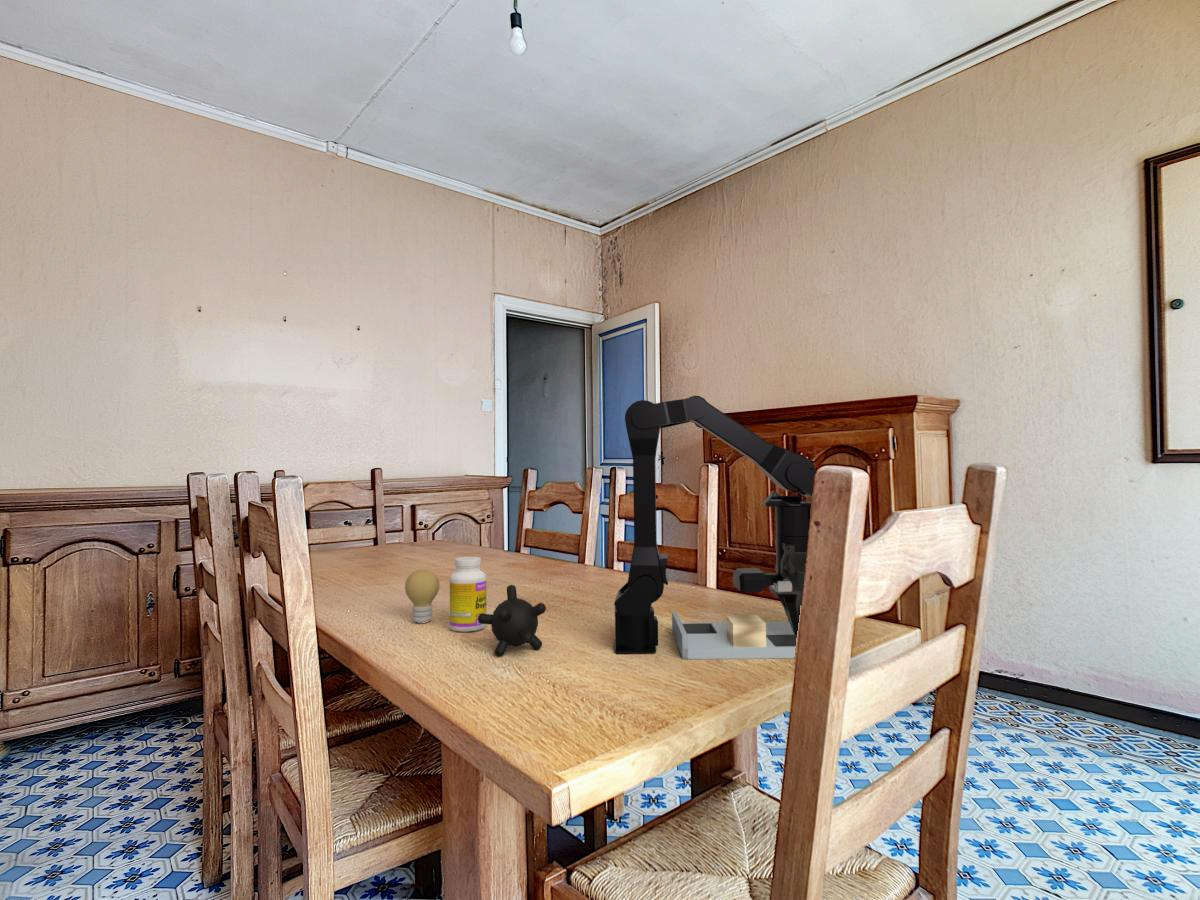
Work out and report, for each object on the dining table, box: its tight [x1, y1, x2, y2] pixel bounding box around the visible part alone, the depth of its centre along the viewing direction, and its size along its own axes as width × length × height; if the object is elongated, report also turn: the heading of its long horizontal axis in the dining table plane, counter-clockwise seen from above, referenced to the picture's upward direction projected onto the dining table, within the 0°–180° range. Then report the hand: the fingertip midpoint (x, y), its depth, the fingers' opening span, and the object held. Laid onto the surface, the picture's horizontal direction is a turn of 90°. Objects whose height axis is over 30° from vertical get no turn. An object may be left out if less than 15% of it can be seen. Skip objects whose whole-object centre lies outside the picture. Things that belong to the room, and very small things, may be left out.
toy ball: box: [478, 584, 547, 657], centre depth 98 cm, size 11×11×12 cm
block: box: [726, 614, 766, 647], centre depth 95 cm, size 5×5×4 cm
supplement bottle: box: [449, 556, 488, 632], centre depth 112 cm, size 7×7×13 cm
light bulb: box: [404, 569, 440, 623], centre depth 117 cm, size 6×6×10 cm
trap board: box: [671, 610, 797, 660], centre depth 99 cm, size 23×15×4 cm, turn 89°
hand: (796, 634), depth 95 cm, fingers closed
